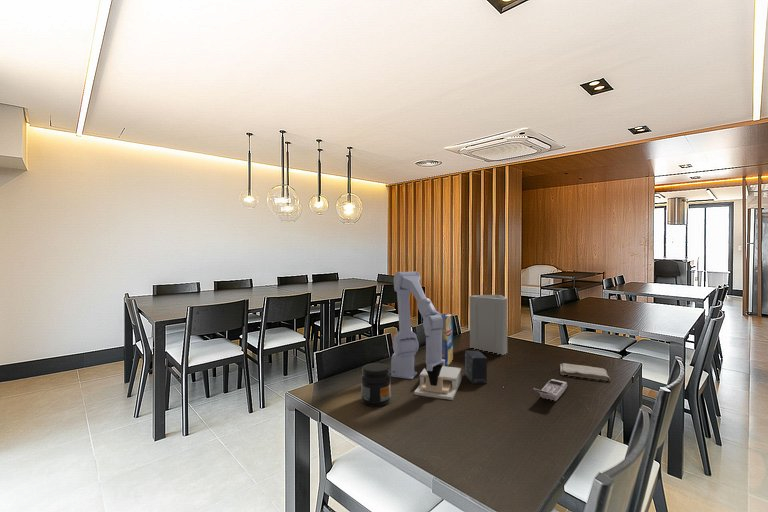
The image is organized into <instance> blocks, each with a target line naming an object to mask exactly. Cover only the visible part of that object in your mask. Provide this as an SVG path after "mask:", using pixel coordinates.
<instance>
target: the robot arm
mask: <svg viewBox="0 0 768 512" xmlns="http://www.w3.org/2000/svg"><path fill="white" fill-rule="evenodd" d="M421 281H422V278H421V275H420V273H419V271H417V270H416V271H415V270H414V271H397V272H395V274H394V276H393V289H394V292H396V297H397V311H398V312H397V314H398V329H399V330H398V331H397V332H396V333H395V335H393V342H392V349H393V352H394V353H392V355H391V360H390V369H391V370H390V376H391V378H392V377H393V378H399V379H408V380H412V379H414V377H416V376H417V374H418V372H417V371H415V356H416V355H417V353H418V351H419V347H420V345H419V344H420V343H419V340H418V337H417V336H418V335H417V334H416V333H415V332H413V330H412V322H411V305H410V303H411V302H410V293H411V294H412V295H413V297H414V298H415V300H416V301H417V303H416V307H417V309H418V312H419V314H420V315H421V317H422V319H423V320H422V326H423V330H424V335H425V366H424V368H425V369H426V371H427V373H428V376H429V380H430V384H431V385H433V386H436V385H437V381H438V376H439V375H440V371H441V368H442V366H443V364H442V363H445V360H443V359H442V329H444V327H445V319H444V317H443V315H442V314H443V313H440V312H439V311H437V309H436V308H435V306H434V304H433V302H432V300H431V299H430V298H427V296H426V295H425V292H424V290H423V288H422V285H421Z"/></svg>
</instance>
